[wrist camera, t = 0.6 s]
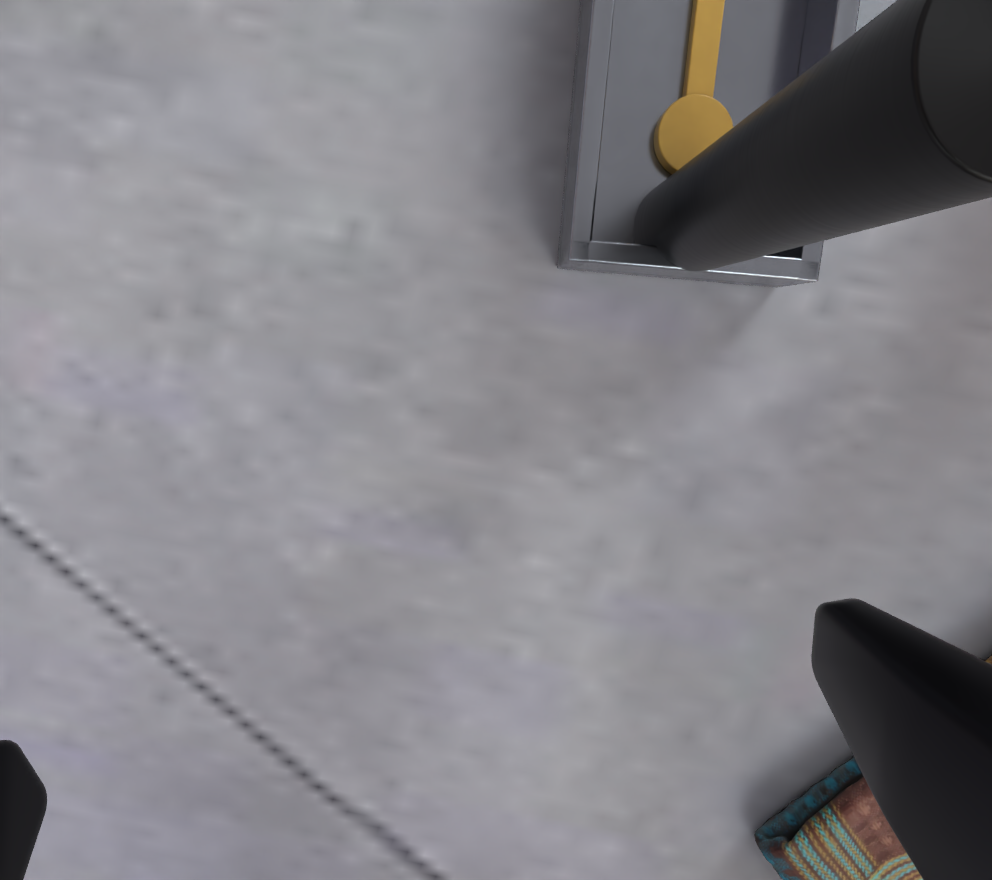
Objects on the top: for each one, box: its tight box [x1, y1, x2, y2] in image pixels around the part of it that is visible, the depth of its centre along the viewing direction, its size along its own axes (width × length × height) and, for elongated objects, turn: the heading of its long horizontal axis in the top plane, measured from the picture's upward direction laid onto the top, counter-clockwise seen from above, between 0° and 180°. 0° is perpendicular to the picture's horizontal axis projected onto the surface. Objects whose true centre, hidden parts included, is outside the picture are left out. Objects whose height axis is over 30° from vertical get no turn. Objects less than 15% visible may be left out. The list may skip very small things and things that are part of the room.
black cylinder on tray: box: [557, 0, 992, 287], centre depth 13 cm, size 9×7×13 cm
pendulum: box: [654, 0, 733, 174], centre depth 19 cm, size 5×2×1 cm, turn 176°
